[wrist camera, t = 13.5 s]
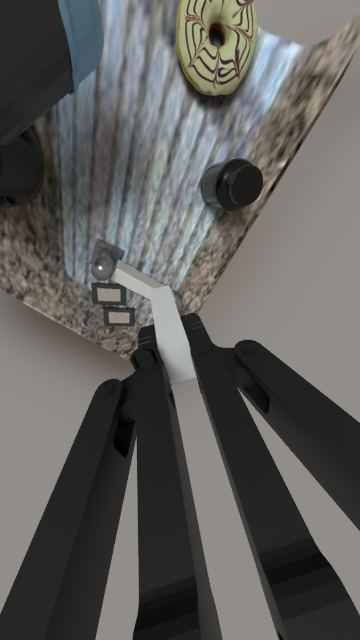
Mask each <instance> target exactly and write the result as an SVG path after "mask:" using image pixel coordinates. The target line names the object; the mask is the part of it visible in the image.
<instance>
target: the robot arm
mask: <svg viewBox="0 0 360 640" xmlns="http://www.w3.org/2000/svg"><path fill="white" fill-rule="evenodd" d="M103 44H104V36H103V25H102V18H101V13H100V7H99V2H98V0H0V208H9V207H15V206H19V205H23V204H25V203H27V202H29V201H31V200H32V199H33V198H34V197H35V196H36V195H37V194H38V192H39V190H40V189H41V186H42V183H43V179H44V159H43V154H42V150H41V146H40V144H39V141H38V139H37V136H36V134H35V132H34V130H33V128H32V126H31V125H32V124H33V123H34V122H35V121H37V120H38V119H39V118H40V117H41V116H42V115H44V114H45V113H46V112H47V111H48V110H49V109H51V108H52V107H53V106H54V105H55V104H56V103H58V102H59V101H60V100H61V99H62V98H63V97H65V96H66V95H67V94H68V93H69V94H70V95H73V94H74V93H76V91H77V89H78V86H79V84H80V83H81V82H82V81H83V80H84V79H85V78H86V77H87V76H88V75H89V74H90V73H91V72H92V71H93V70H94V69H95V68H96V67H97V66H98V64H99V62H100V60H101V56H102V50H103ZM149 291H150V297H151V304H152V311H153V318H154V324H153V325H150V326H146V327H142V328H141V329H140V331H139V333H138V340H139V341H138V344H139V345H138V349H136V350H135V351H134V352H133V353H132V355H131V357H130V361H131V362H132V364H133V366H134V368H135V370H136V371H135V372H134V373H133V374H132V375H131V376H129V377H127V378H126V379H124V380H122V381H120V380H118V379H110V380H107V381H105V382H103V383H102V384H101V385H100V386H99V387H98V388H97V390H96V392H95V394H94V396H93V398H92V401H91V403H90V405H89V408H88V410H87V412H86V415H85V417H84V419H83V422H82V424H81V426H80V429H79V431H78V434H77V436H76V438H75V440H74V443H73V445H72V447H71V450H70V452H69V455H68V457H67V459H66V462H65V464H64V466H63V469H62V471H61V473H60V476H59V478H58V480H57V483H56V485H55V488H54V490H53V492H52V494H51V497H50V499H49V501H48V504H47V506H46V508H45V511H44V513H43V516H42V518H41V520H40V522H39V525H38V527H37V530H36V532H35V534H34V537H33V539H32V541H31V544H30V546H29V548H28V551H27V553H26V555H25V558H24V560H23V562H22V565H21V567H20V569H19V572H18V574H17V576H16V579H15V581H14V583H13V586H12V588H11V590H10V593H9V595H8V597H7V600H6V602H5V604H4V607H3V609H2V612H1V614H0V640H95V638H96V633H97V628H98V623H99V618H100V613H101V608H102V603H103V599H104V594H105V588H106V584H107V579H108V574H109V569H110V564H111V559H112V554H113V549H114V544H115V539H116V534H117V529H118V525H119V520H120V515H121V509H122V505H123V500H124V495H125V490H126V485H127V480H128V475H129V470H130V465H131V460H132V455H133V450H134V446H135V440H136V436H137V482H138V483H137V487H138V488H137V489H138V549H139V550H138V554H139V555H138V556H139V608H138V616H137V620H136V624H135V628H134V632H133V640H222V635H221V629H220V624H219V620H218V615H217V610H216V606H215V602H214V599H213V595H212V591H211V588H210V583H209V578H208V573H207V568H206V562H205V557H204V552H203V547H202V541H201V536H200V531H199V525H198V520H197V515H196V510H195V505H194V499H193V494H192V489H191V484H190V478H189V473H188V468H187V463H186V457H185V452H184V447H183V442H182V437H181V431H180V426H179V421H178V416H177V410H176V405H175V400H174V395H173V392H172V389H171V385H172V384H175V383H178V382H182V381H185V380H188V379H192V378H196V377H197V379H198V384H199V388H200V391H201V394H202V397H203V400H204V403H205V406H206V409H207V413H208V416H209V419H210V422H211V425H212V428H213V431H214V435H215V438H216V441H217V444H218V447H219V450H220V453H221V457H222V460H223V463H224V466H225V469H226V472H227V475H228V478H229V482H230V485H231V488H232V491H233V494H234V497H235V500H236V504H237V507H238V510H239V513H240V516H241V520H242V523H243V526H244V529H245V532H246V535H247V538H248V541H249V545H250V548H251V551H252V554H253V557H254V560H255V563H256V567H257V570H258V573H259V577H260V580H261V584H262V588H263V591H264V594H265V597H266V601H267V604H268V607H269V610H270V613H271V617H272V620H273V623H274V626H275V629H276V632H277V636H278V639H279V640H360V615H359V613H358V611H357V609H356V607H355V606H354V604H353V602H352V600H351V598H350V596H349V594H348V593H347V591H346V589H345V587H344V585H343V583H342V582H341V580H340V578H339V577H338V575H337V574H336V572H335V570H334V569H333V567H332V566H331V564H330V563H329V562H328V561H327V559H326V558H325V557H324V556H323V555H322V553H321V552H320V550H319V549H318V547H317V545H316V544H315V542H314V540H313V538H312V536H311V534H310V532H309V530H308V528H307V526H306V524H305V522H304V520H303V518H302V516H301V514H300V512H299V510H298V508H297V506H296V504H295V502H294V500H293V498H292V496H291V494H290V492H289V490H288V488H287V486H286V484H285V482H284V480H283V478H282V476H281V474H280V472H279V470H278V468H277V466H276V464H275V462H274V460H273V458H272V456H271V454H270V452H269V450H268V448H267V446H266V444H265V442H264V440H263V438H262V436H261V434H260V432H259V430H258V428H257V426H256V424H255V422H254V420H253V418H252V416H251V414H250V412H249V410H248V408H247V406H246V404H245V402H244V400H243V398H242V396H241V394H240V392H239V390H240V391H241V392H242V393H243V395H244V396H245V397H246V398H247V399H248V400H249V402H250V403H251V404H252V405H253V406H254V407H255V409H256V410H257V411H258V412H259V413H260V414H261V416H262V417H263V418H264V419H265V420H266V422H267V423H268V424H269V425H270V426H271V427H272V429H273V430H274V431H275V432H276V433H277V434H278V436H279V437H280V438H281V439H282V440H283V441H284V443H285V444H286V445H287V446H288V447H289V448H290V450H291V451H292V452H293V453H294V454H295V456H296V457H297V458H298V459H299V460H300V461H301V462H302V464H303V465H304V466H305V467H306V468H307V470H308V471H309V472H310V473H311V474H312V475H313V477H314V478H315V479H316V480H317V481H318V483H319V484H320V485H321V486H322V487H323V488H324V490H325V491H326V492H327V493H328V494H329V495H330V497H331V498H332V499H333V500H334V501H335V502H336V504H337V505H338V506H339V507H340V508H341V510H342V511H343V512H344V513H345V514H346V515H347V516H348V518H349V519H350V520H351V521H352V522H353V523H354V525H355V526H356V527H357V528H358V529H359V531H360V423H359V422H358V421H357V420H356V419H354V418H353V417H352V416H350V415H349V414H348V413H347V412H345V411H344V410H343V409H342V408H340V407H339V406H338V405H337V404H335V403H334V402H333V401H331V400H330V399H329V398H328V397H327V396H325V395H324V394H323V393H321V392H320V391H319V390H318V389H316V388H315V387H314V386H313V385H311V384H310V383H309V382H308V381H306V380H305V379H304V378H303V377H301V376H300V375H298V373H296V372H295V371H294V370H292V369H291V368H290V367H289V366H287V365H286V364H285V363H284V362H282V361H281V360H280V359H279V358H277V357H276V356H275V355H274V354H272V353H271V352H270V351H269V350H267V349H266V348H264V346H262V345H261V344H260V343H258V342H256V341H253V340H243V341H239V342H238V343H237V344H236V345H235V347H234V348H222V347H218V346H216V345H215V344H213V343H212V341H211V339H210V337H209V335H208V333H207V331H206V329H205V327H204V325H203V323H202V321H201V319H200V317H199V316H198V315H197V314H195V313H191V314H187V315H183V316H179V313H178V310H177V307H176V304H175V301H174V298H173V296H172V293H171V290H170V287H169V285H167V286H163V287H160V288H156V289H152V290H149ZM170 383H171V384H170ZM237 387H238V388H237ZM238 389H239V390H238Z"/></svg>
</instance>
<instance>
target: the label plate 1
mask: <svg viewBox="0 0 360 640" xmlns="http://www.w3.org/2000/svg"><path fill="white" fill-rule="evenodd" d="M91 285H92V295H93V304H103V305H125V304H126V302H125V287H124V286H122V285H121V284H107V283H92V284H91Z"/></svg>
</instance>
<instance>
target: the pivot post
mask: <svg viewBox="0 0 360 640" xmlns="http://www.w3.org/2000/svg"><path fill="white" fill-rule="evenodd" d="M122 253H123V250H122V249H120V248H118V247H115V246H113V245H111V244H109V243H106V242H104V241H102V240H100V239H98V240H97V243H96V246H95V249H94V252H93V256H92V259H91V262H90V263H91V264H93V267H92V274H93V276H94V277H95V278H96V279H98V280H102V281H104V280H107V279H108V278H109V277H110V275H111V272H112V271H113V268H114V266H115V265H116V263H117V261H118V259H119V260H120V258H121V256H122Z"/></svg>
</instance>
